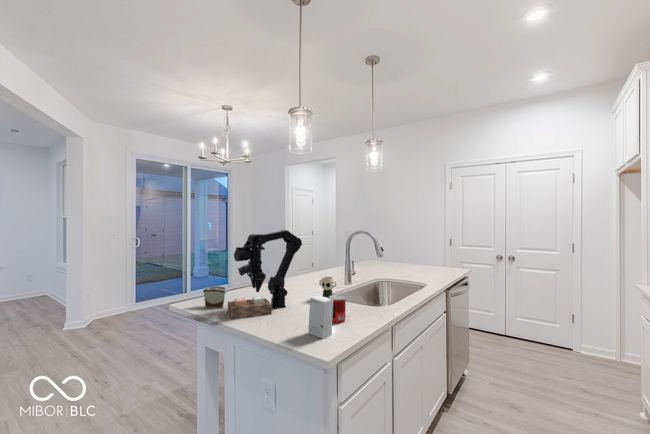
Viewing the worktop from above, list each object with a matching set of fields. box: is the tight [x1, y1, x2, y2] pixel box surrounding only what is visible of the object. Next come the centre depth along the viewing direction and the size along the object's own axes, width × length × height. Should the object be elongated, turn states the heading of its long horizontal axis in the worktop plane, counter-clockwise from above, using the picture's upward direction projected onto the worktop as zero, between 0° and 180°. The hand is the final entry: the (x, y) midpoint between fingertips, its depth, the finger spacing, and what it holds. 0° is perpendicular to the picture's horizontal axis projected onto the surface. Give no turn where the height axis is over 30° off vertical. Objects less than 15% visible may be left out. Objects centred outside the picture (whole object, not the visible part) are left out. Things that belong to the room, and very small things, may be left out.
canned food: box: [329, 294, 347, 324], centre depth 138 cm, size 8×8×11 cm
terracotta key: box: [233, 297, 247, 306], centre depth 147 cm, size 5×5×4 cm
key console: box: [227, 297, 273, 320], centre depth 149 cm, size 19×13×5 cm
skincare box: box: [308, 295, 333, 340], centre depth 122 cm, size 8×6×15 cm
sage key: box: [251, 295, 266, 304], centre depth 151 cm, size 5×5×4 cm
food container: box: [202, 286, 227, 309], centre depth 160 cm, size 12×6×10 cm, turn 84°
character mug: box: [318, 276, 337, 298], centre depth 174 cm, size 11×7×13 cm, turn 64°
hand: (255, 290), depth 151 cm, fingers open, 9 cm apart
